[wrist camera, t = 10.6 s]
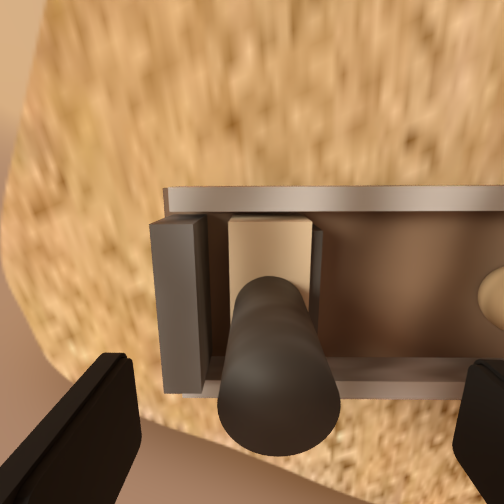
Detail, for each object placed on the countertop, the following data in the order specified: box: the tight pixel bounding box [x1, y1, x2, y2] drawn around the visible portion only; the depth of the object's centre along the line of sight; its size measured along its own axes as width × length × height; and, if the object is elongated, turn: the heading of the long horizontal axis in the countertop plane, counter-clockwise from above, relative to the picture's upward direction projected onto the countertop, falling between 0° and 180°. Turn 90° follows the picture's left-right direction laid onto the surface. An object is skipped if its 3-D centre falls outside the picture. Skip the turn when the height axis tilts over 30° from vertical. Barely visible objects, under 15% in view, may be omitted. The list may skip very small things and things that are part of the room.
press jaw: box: [217, 215, 340, 457], centre depth 13 cm, size 5×9×10 cm, turn 0°
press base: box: [149, 185, 504, 400], centre depth 16 cm, size 24×12×8 cm, turn 90°
